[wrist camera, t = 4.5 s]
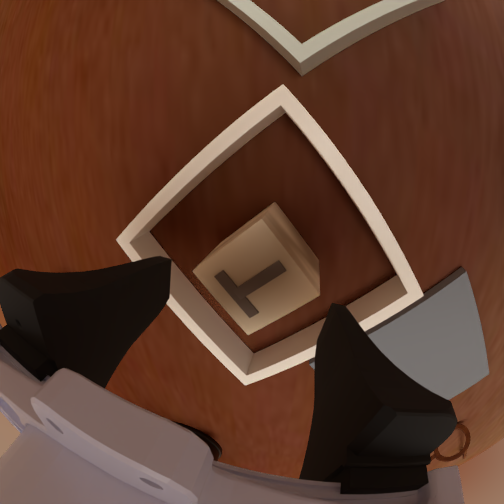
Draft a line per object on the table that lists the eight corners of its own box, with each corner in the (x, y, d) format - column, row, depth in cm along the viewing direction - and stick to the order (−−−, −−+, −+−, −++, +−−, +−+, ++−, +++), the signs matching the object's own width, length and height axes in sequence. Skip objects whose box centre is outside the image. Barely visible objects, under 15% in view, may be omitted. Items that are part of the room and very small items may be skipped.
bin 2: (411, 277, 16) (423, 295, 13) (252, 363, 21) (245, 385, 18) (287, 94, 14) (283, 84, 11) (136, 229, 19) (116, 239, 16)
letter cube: (319, 259, 17) (320, 296, 12) (262, 295, 18) (247, 336, 14) (275, 201, 16) (261, 219, 12) (220, 242, 18) (191, 271, 13)
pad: (486, 368, 16) (489, 373, 16) (373, 428, 21) (373, 434, 20) (461, 266, 14) (466, 271, 14) (309, 356, 19) (309, 364, 19)
